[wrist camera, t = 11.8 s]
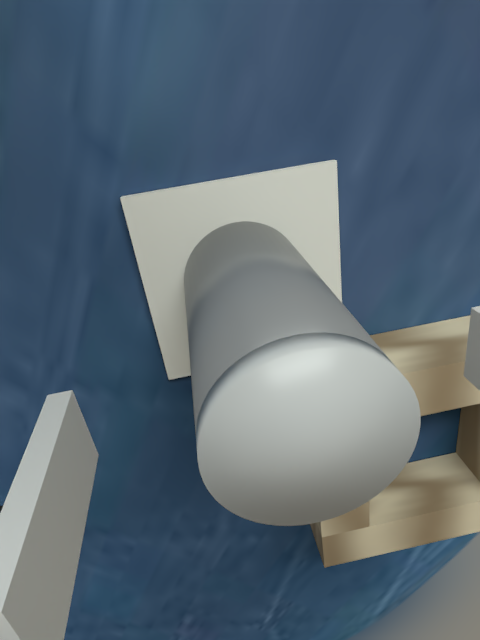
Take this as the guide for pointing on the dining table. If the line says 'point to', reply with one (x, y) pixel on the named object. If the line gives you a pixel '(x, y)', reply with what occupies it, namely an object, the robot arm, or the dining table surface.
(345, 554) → the housing
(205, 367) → the grey domed cylinder
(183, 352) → the pad
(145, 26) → the dining table surface
